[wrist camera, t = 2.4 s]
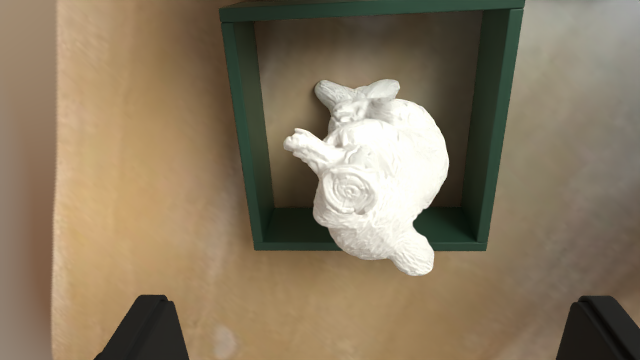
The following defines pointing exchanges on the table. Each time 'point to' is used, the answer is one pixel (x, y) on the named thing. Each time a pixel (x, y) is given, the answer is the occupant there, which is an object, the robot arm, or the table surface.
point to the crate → (484, 135)
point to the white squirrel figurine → (375, 172)
